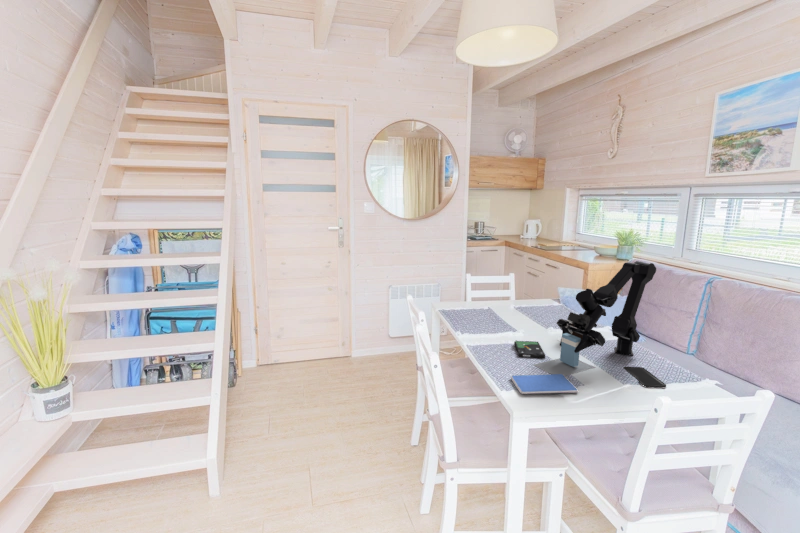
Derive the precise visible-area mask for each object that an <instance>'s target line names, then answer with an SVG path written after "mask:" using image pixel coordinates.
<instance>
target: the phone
mask: <svg viewBox="0 0 800 533" xmlns="http://www.w3.org/2000/svg"><path fill="white" fill-rule="evenodd" d="M623 369H624V370H625V371H626V372H628V374H630V375H631V376H633V377H634V378H635V379H636V380H637V382H638V381H639V382H640V383H641V384H642V385H644V386H646V387H645V388H648V387H666V388H667V384H666V383H664V382H663V381H662V380H660V379H659V378H658V377H657V376H655V375H654V374H653V373H652V372H650V371H648V370H647V369H646V368H644V367H641V366H623ZM639 382H638V383H639ZM640 383H639V384H640ZM641 384H640V385H641ZM642 385H641V386H642ZM644 386H643V387H644Z"/></svg>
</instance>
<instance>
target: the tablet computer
mask: <svg viewBox="0 0 800 533" xmlns="http://www.w3.org/2000/svg"><path fill="white" fill-rule="evenodd" d="M510 380H511V381H512V382H513V385H515V387H516V389H517V390H518V391H519V393H520V394H522V395H526V394H527V395H529V394H530V395H531V394H534V395H535V394H563V393H564V394H565V393H567V394H568V393H570V394H571V393H574V394H575V393H579V390H578V388H577V387H576V386H575V385H574V384H573V383H572V382H571V381H570V380H569V379H568V378H567V377H566V376H564V375H563V374H550V373H548V374H526V375H525V374H524V375H523V374H521V375H519V374H517V375H511V376H510Z"/></svg>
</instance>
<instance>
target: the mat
mask: <svg viewBox="0 0 800 533" xmlns="http://www.w3.org/2000/svg"><path fill="white" fill-rule="evenodd" d="M533 366H534V367H537V368H539V369H540V370H543V372H546V373H547V374H563V375H564V376H565V377H566V376H569V375H574V374H577V373H580V372H584V371H587V370H588V371H589V370H591V369H594V368H596V367H595V366H593V365H591V364H589V363H587V362H584V361H582V360H580V359H579V363H578V366H575V367H573V366H570V365H568V364H566V363H564V362H562V361H560V357H559V358H555V359H551V360H545V361H543V362H539V363H535V364H534V363H533Z"/></svg>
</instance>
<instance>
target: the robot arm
mask: <svg viewBox="0 0 800 533" xmlns="http://www.w3.org/2000/svg"><path fill="white" fill-rule="evenodd" d="M656 272H657V267H656V266H655V264H654V263H651V262H646V261H642V260H641V261H640V260H636V261H635V262H628V261H627V262H624V263H623V265H622V267H621V268H620V270H618V272H616V274H615V275H614V276H613V277H612V278H611V280H610V281H608V283H607V284H606V285H603V286H601V287H598V289H596V290H595V291H593V289H591V288H586V289H585V290H581V291H579V292H577V294H576V295H575V300H576V302H577V303H578V304H579V306H580V308H582V309H583V311H584V312H583V313H579V314H577V313H575V312H571V311H570V312H569V314H568V317H567V319H563V318H559V319H558V320H557V321H556V325H557V326H558V328H560V330H561V331H562V333H561V335H562V334H564V333H568V334H571V332H572V331H574V332H576V333H579V334H582V335H583V337H582V340H581V341H580V343H579V344H578V346H577V347H576V349H575V350H574V352H575V353H577V352H579V351H580V352H581V351H582V350H585V349H587V348H590V347H592V346H596V345H597V346H600V347H604V345H605V344H606V338H605V337H604V335H603V334H602V333H601V331H597V330H594V329H593V328H597V327H598V325H597V322H599V320H600V318H601V317H602V316H603V317H606V316H607V312H606V308H612V306H614V305H615V303H616V302H617V300H618V297H619V296H618V294H619V292H620V291H621V290H622V289H623V288H624V287H625V285H627V283H628V282H629V281H630V280H632V282H631V284H630V287H629V290H628V293H627V296H626V299H625V302H624V305H623V308H622V311H621V314H619V315H616V316H614V318H613V321H612V323H611V332H612V336H613V337H616V338H617V339H616V340H617V341H616V346H614V350H615V353H616V354H620V355H624V356H625V355H626V356H634V352H633V346H634V345H633V344H634V343H637V342H639V341H640V337H641V335H640V334H639V332H638V330H637V325H638V324H637V321H636V314H637V312H638V309H639V305H640V303H641V299H642V297H643V294H644V290H645V288H646V285H647V284H648V283H649V282H650V281H652V280H653V278H654V276H655V274H656ZM603 307H604V308H603ZM605 307H606V308H605ZM566 320H570V321H572V324H573V325H575V326H572V325H571V324H570V323H569V321H566ZM571 335H572V334H571ZM561 341H562V337H561V339H560V343H559V346H560V347H561ZM580 352H579V353H580Z"/></svg>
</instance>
